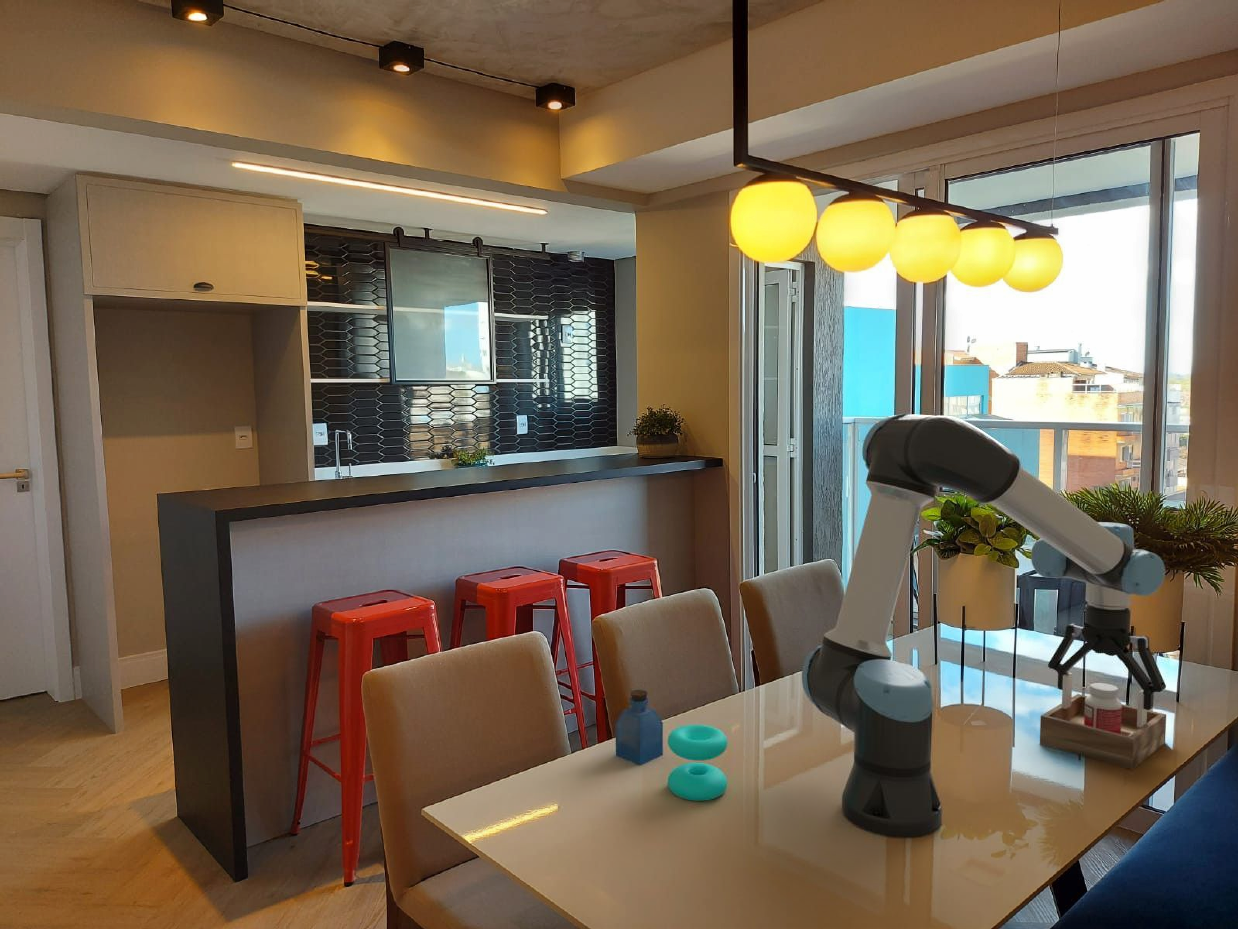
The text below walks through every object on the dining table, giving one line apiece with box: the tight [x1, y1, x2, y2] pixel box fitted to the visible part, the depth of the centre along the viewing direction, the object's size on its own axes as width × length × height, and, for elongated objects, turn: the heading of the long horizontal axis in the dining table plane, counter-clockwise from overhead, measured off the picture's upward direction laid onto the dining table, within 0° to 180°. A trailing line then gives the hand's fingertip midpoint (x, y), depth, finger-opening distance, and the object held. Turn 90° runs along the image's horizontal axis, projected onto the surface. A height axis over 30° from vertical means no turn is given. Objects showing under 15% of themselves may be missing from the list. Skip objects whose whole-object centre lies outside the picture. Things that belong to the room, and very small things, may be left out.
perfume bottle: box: [615, 689, 664, 766], centre depth 164 cm, size 6×6×12 cm
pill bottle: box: [1084, 682, 1122, 734], centre depth 168 cm, size 6×6×11 cm
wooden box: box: [1039, 693, 1167, 770], centre depth 168 cm, size 18×16×6 cm
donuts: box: [667, 724, 728, 802], centre depth 149 cm, size 10×10×10 cm
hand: (1102, 716), depth 168 cm, fingers open, 12 cm apart
